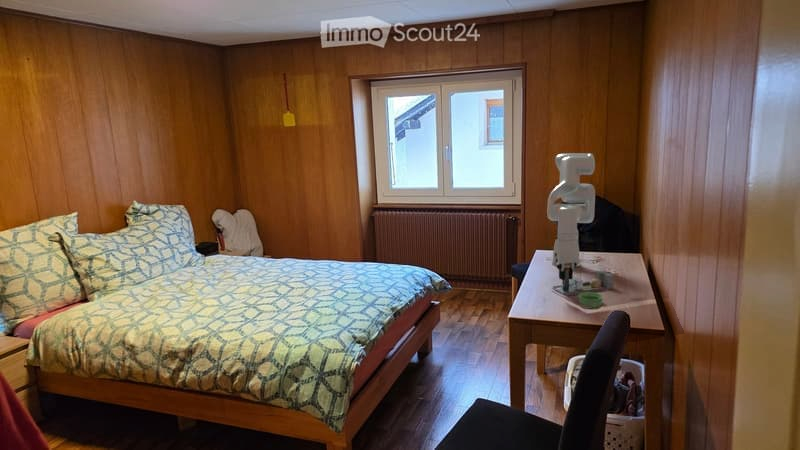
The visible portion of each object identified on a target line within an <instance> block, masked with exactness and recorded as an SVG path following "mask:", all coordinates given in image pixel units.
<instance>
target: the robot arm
mask: <svg viewBox="0 0 800 450" xmlns="http://www.w3.org/2000/svg"><path fill="white" fill-rule="evenodd" d="M554 160H555V161H554V162H555V165H556V167H557V170H558V171H559V180H558V181H559V184H558V185H556V186H555V188H553V190H552V191H551V192H550V194H549V195H548V199H547V204H546V205H547V208H546V213H547V214H546V215H547V216H546V217H547V219H548V220H550V221H553V222H557V238H556V239H555V241H554V245H553V253H552V262H551V266H553V267H555V268H557V270H558V278H559V280H561V281H562V280H565V271H564V265H565V264H568V263H569V264H571V267H570V270H569V279H572V276H574V275H573V273H574V272H573V271H574V270H575V268H577V267H580V266H581V265H582V264H581V259H580V246H579V235H580V234H579V230H578V223H579V224H590V223H592V222H593V221H594V219H595V205H596V189H595V186H594V185H593V184H591V183H580V176H583V175H585V176H589V175H590V176H591V175H593V174H594V173H595V168H596V162H595V156H594V155H593V153H590V152H588V153H583V152H582V153H581V152H577V153H575V152H574V153H570V152H569V153H567V152H566V153H559V154H557V155H556V156H555V159H554ZM560 198H561V200H562V201H563V202H564V203H555V202H556V201H557V200H558V199H560Z"/></svg>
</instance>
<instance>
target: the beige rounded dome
mask: <svg viewBox="0 0 800 450" xmlns="http://www.w3.org/2000/svg"><path fill="white" fill-rule="evenodd" d="M590 283H591V287H592V288H601V280H600V279H595V278H592V279H591V281H590Z"/></svg>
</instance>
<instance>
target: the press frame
mask: <svg viewBox="0 0 800 450" xmlns="http://www.w3.org/2000/svg"><path fill="white" fill-rule="evenodd" d="M614 278H615V276H614V274H612V273H610V272H607V271H605V270H602V269H601V270H595V278H594V279H600V280H601V288H592V287H591V281H583V290H579V291H572V292H565V294H563V293H561V292H559V291H557V290H555V289H554V288H557V287H562V284H560V285H553V287H551V289H552V290H551V292H552V293H553V294H556V295H558V296H559V297H561V298H563V299H564V300H565V299H566V300H567V301H569V299H568V298H566V297H575V296H578V295H579V294H580V293H584V292H592V293H597V294H599V293H604V292H611V291H618V289H616V288H614V283H615V282H614ZM553 290H555V291H557V292H558V293H560V294H562V295H564V296H566V297H564V296H562V295H560V294H558V293H557V292H555V291H553Z"/></svg>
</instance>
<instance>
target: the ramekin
mask: <svg viewBox="0 0 800 450" xmlns="http://www.w3.org/2000/svg"><path fill="white" fill-rule="evenodd" d="M577 296H578V301H579V303H580V304H581V305H583V306H587V307H588V306H589V307H588V308H586V310H591V311H592V310H599V309H601V308H602V306H601V305H602V303H603V298H604V297H603V295H602V294H599V293H592V292H584V293H580V294H579V295H577ZM583 306H581V308H583V309H584V307H583Z"/></svg>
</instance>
